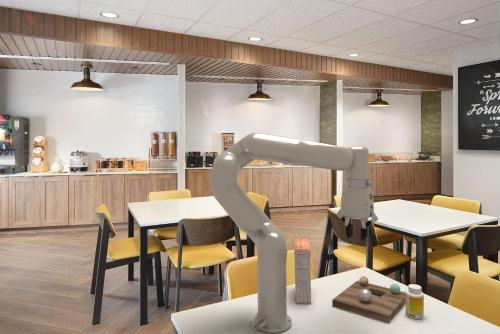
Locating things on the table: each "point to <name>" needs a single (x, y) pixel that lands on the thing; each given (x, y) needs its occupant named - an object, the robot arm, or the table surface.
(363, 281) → the beech ball
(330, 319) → the table surface
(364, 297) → the steel ball
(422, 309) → the supplement bottle
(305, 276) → the cracker box
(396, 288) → the teal ball
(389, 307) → the wooden board
